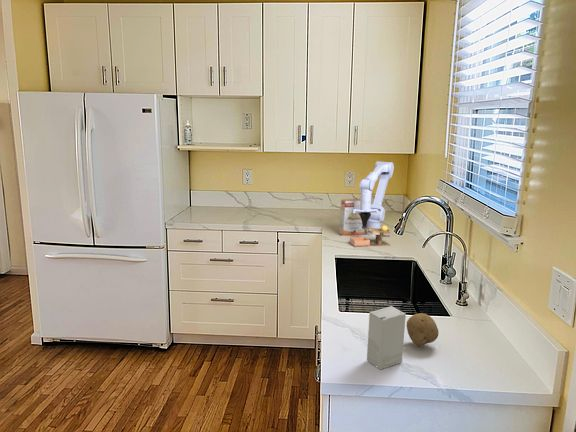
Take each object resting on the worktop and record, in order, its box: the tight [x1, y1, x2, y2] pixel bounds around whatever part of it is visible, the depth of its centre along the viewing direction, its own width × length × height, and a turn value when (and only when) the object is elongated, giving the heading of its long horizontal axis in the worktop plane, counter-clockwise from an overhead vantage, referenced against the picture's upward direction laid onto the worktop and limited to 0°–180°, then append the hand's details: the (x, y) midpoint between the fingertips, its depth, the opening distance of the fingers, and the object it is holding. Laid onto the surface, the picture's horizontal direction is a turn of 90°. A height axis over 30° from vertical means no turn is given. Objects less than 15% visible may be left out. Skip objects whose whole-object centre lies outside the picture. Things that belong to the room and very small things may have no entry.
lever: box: [362, 226, 391, 238], centre depth 252 cm, size 13×11×4 cm
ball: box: [380, 225, 389, 231], centre depth 249 cm, size 4×4×4 cm
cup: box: [349, 236, 371, 247], centre depth 247 cm, size 7×8×3 cm
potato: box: [406, 312, 440, 348], centre depth 138 cm, size 9×9×10 cm
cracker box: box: [338, 198, 365, 236], centre depth 270 cm, size 14×6×21 cm, turn 109°
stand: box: [348, 232, 392, 248], centre depth 248 cm, size 9×21×8 cm, turn 103°
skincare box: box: [366, 305, 407, 370], centre depth 127 cm, size 8×6×15 cm
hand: (364, 225), depth 256 cm, fingers closed
